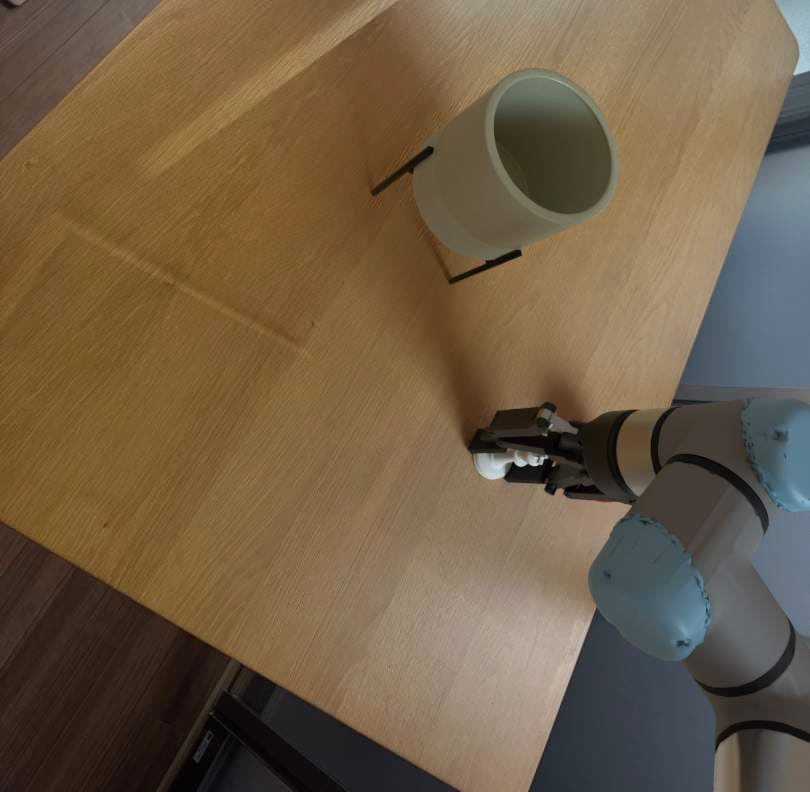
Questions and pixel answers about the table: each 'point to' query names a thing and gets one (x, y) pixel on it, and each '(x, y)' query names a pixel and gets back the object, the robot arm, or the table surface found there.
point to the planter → (514, 168)
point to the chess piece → (504, 462)
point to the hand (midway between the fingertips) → (493, 455)
